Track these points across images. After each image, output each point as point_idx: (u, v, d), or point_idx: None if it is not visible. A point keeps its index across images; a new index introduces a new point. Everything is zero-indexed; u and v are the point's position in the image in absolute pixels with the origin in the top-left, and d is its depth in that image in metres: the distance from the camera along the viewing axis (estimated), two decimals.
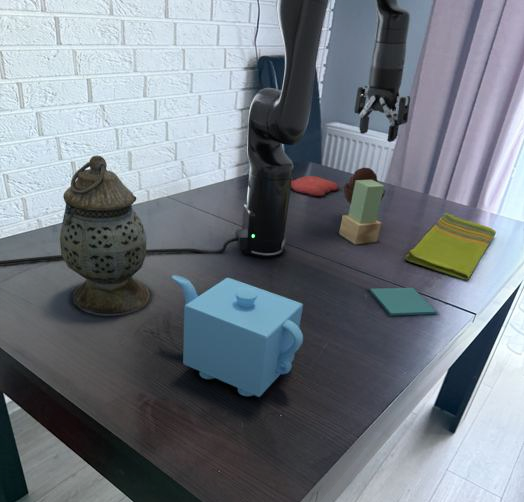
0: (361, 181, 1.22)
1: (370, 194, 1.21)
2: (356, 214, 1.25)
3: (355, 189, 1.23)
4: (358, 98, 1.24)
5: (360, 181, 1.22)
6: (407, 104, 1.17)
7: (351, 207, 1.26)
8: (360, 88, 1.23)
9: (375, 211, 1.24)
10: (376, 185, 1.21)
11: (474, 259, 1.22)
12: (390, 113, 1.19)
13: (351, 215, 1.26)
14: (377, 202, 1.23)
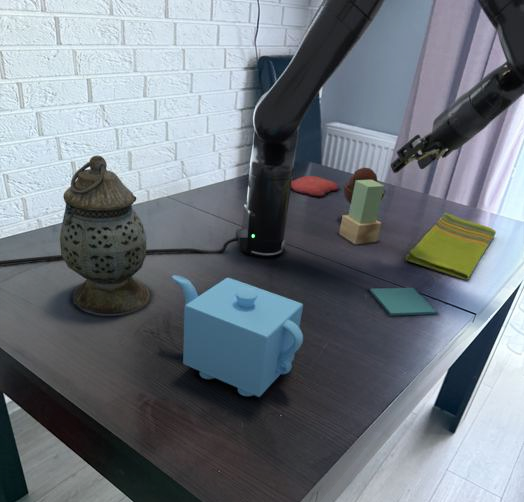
0: (361, 181, 1.22)
1: (370, 194, 1.21)
2: (356, 214, 1.25)
3: (355, 189, 1.23)
4: None
5: (360, 181, 1.22)
6: (413, 147, 1.00)
7: (351, 207, 1.26)
8: None
9: (375, 211, 1.24)
10: (376, 185, 1.21)
11: (474, 259, 1.22)
12: None
13: (351, 215, 1.26)
14: (377, 202, 1.23)
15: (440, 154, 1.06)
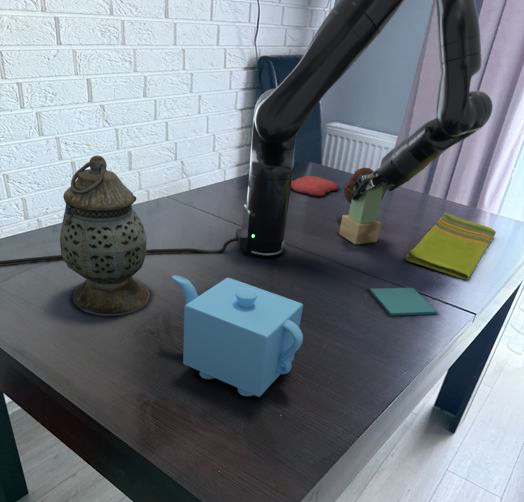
0: None
1: (370, 193, 1.21)
2: (356, 214, 1.25)
3: None
4: None
5: None
6: (361, 182, 1.15)
7: (351, 207, 1.26)
8: None
9: (375, 211, 1.24)
10: None
11: (474, 259, 1.22)
12: None
13: (351, 215, 1.26)
14: (377, 202, 1.23)
15: (388, 187, 1.19)
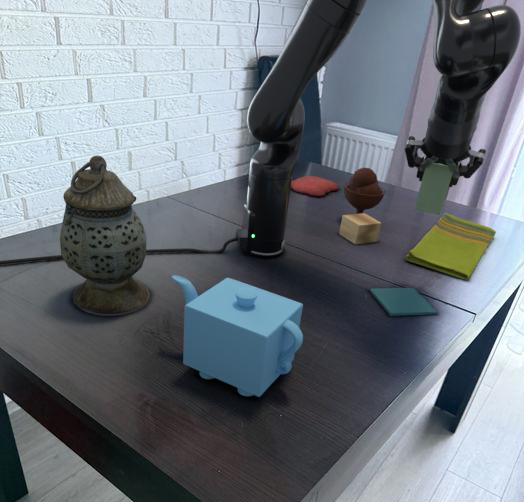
0: None
1: (430, 172, 0.94)
2: None
3: None
4: None
5: None
6: None
7: None
8: (482, 149, 0.88)
9: (438, 199, 0.96)
10: None
11: (474, 259, 1.22)
12: None
13: None
14: (442, 187, 0.95)
15: (450, 167, 0.91)
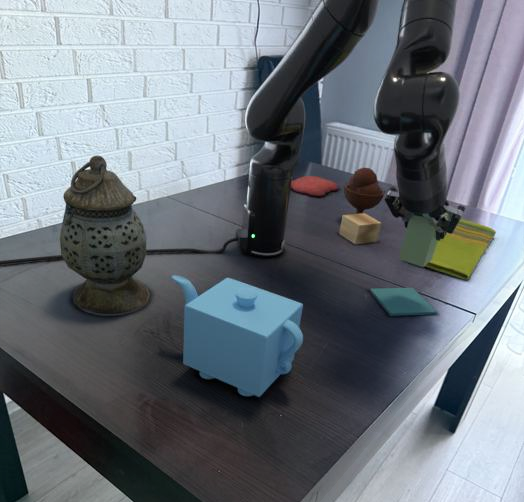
0: None
1: (414, 224, 0.92)
2: None
3: None
4: None
5: None
6: None
7: None
8: (461, 206, 0.84)
9: (421, 251, 0.93)
10: None
11: (474, 259, 1.22)
12: None
13: None
14: (425, 240, 0.92)
15: (429, 221, 0.88)
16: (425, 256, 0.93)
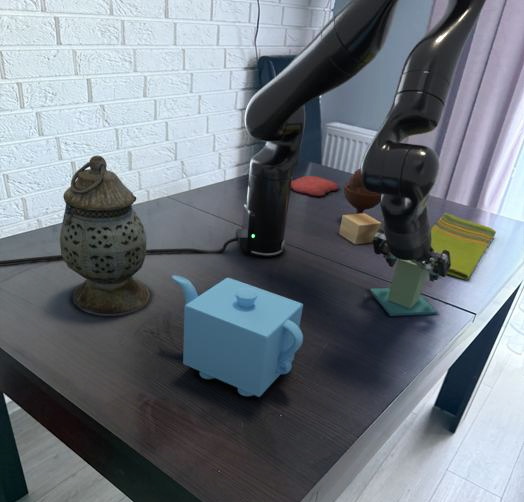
0: None
1: (401, 269, 0.97)
2: None
3: None
4: None
5: None
6: None
7: None
8: (445, 250, 0.88)
9: (409, 294, 0.98)
10: None
11: (474, 259, 1.22)
12: None
13: None
14: (412, 284, 0.97)
15: (419, 265, 0.92)
16: (412, 298, 0.98)
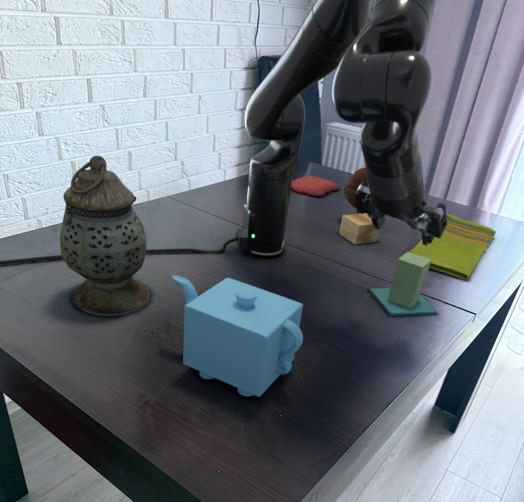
0: (410, 254, 0.99)
1: (401, 269, 0.97)
2: None
3: None
4: None
5: (409, 254, 0.99)
6: None
7: None
8: (440, 204, 0.74)
9: (409, 294, 0.98)
10: (414, 262, 0.96)
11: (474, 259, 1.22)
12: None
13: None
14: (412, 284, 0.97)
15: (409, 224, 0.78)
16: (412, 298, 0.98)
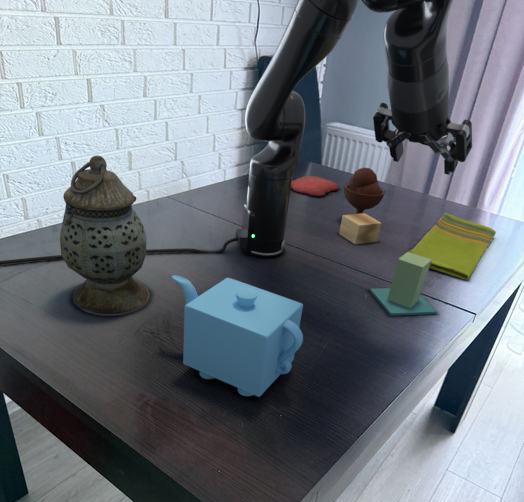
0: (410, 254, 0.99)
1: (401, 269, 0.97)
2: None
3: None
4: None
5: (409, 254, 0.99)
6: None
7: None
8: None
9: (409, 294, 0.98)
10: (414, 262, 0.96)
11: (474, 259, 1.22)
12: None
13: None
14: (412, 284, 0.97)
15: (432, 147, 0.73)
16: (412, 298, 0.98)
